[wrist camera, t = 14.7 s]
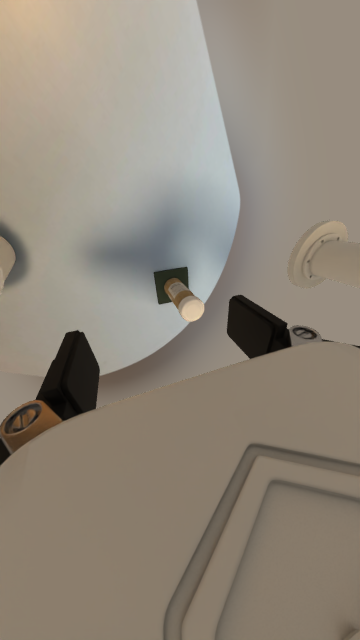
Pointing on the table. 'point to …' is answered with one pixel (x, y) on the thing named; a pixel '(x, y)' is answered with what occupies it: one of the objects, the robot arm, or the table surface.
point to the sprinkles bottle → (184, 300)
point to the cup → (5, 260)
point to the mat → (164, 276)
